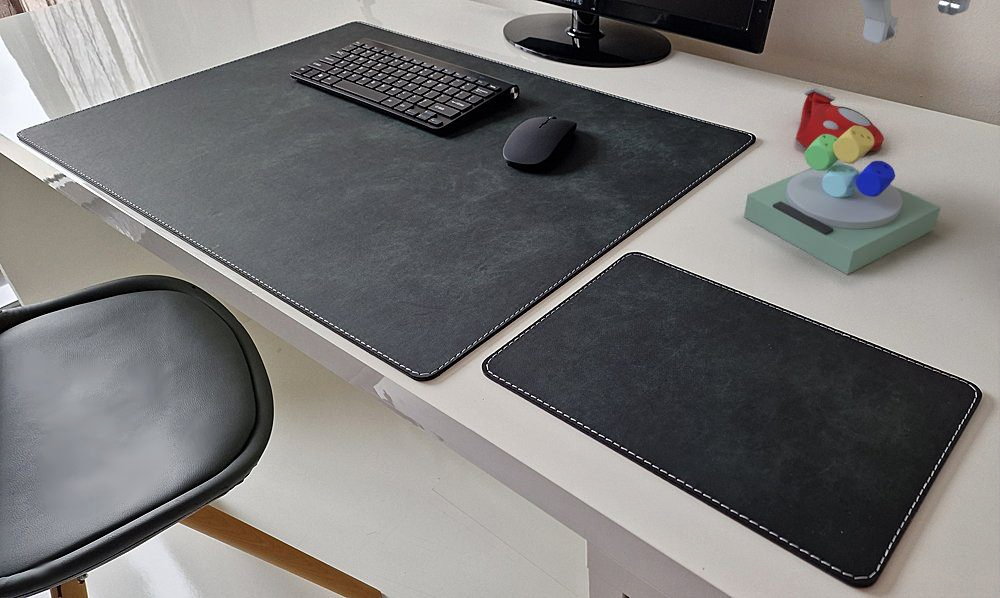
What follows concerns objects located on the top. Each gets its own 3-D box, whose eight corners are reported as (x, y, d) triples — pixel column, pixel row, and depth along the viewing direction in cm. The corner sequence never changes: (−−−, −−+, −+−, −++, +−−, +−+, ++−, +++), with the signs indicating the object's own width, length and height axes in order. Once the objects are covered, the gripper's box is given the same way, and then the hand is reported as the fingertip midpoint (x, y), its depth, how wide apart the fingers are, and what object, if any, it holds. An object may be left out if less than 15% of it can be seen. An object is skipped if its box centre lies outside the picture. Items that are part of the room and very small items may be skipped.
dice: (890, 201, 71) (909, 136, 68) (877, 212, 70) (895, 146, 66) (809, 173, 76) (822, 111, 72) (795, 183, 75) (807, 120, 71)
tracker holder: (905, 132, 87) (857, 138, 81) (881, 166, 89) (833, 174, 84) (821, 76, 93) (771, 78, 87) (802, 109, 96) (752, 113, 90)
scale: (827, 180, 82) (833, 151, 80) (933, 230, 73) (943, 199, 71) (743, 216, 77) (748, 187, 75) (847, 274, 68) (855, 243, 67)
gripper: (909, -146, 49) (863, 70, 57) (1091, -189, 57) (1027, 6, 65) (826, -154, 53) (794, 47, 62) (1005, -193, 61) (955, -10, 70)
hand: (915, 25), depth 64 cm, fingers open, 8 cm apart
